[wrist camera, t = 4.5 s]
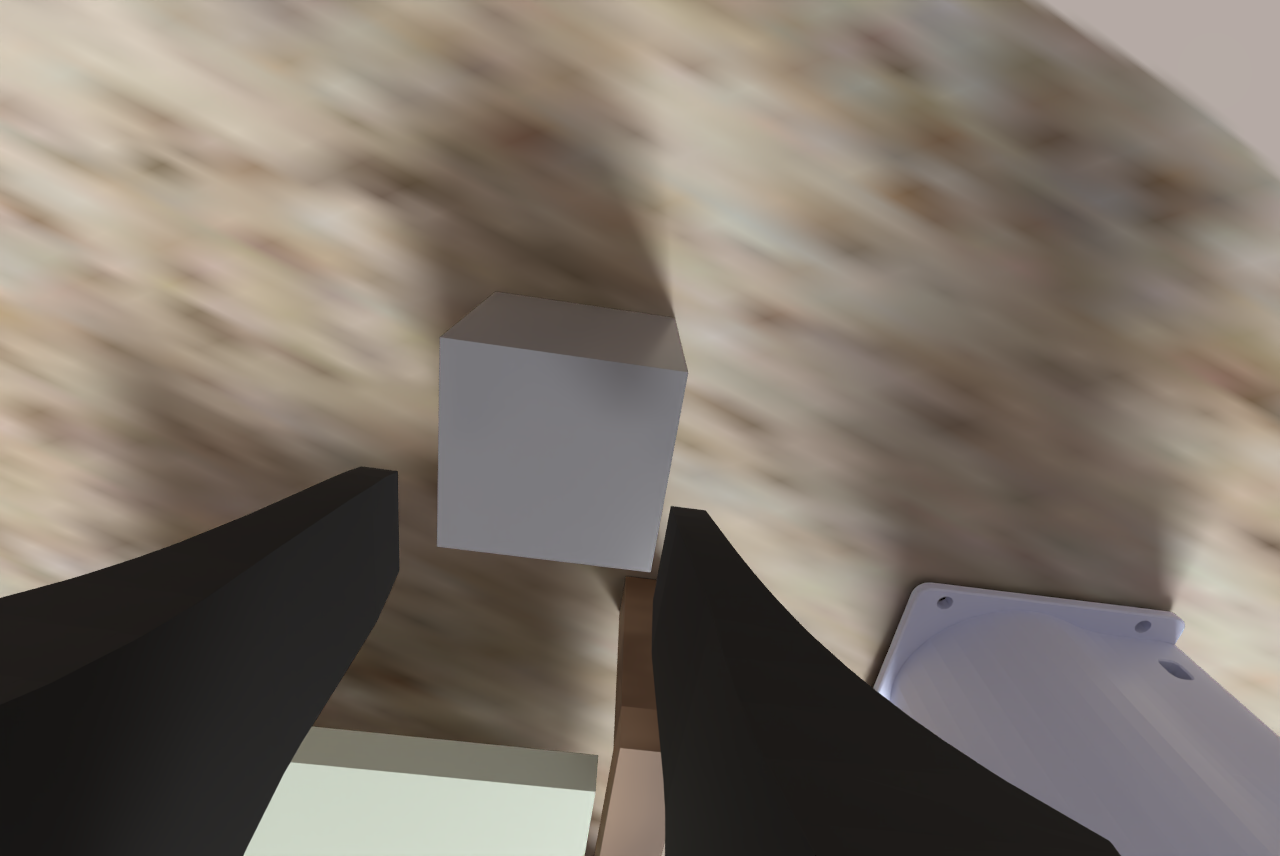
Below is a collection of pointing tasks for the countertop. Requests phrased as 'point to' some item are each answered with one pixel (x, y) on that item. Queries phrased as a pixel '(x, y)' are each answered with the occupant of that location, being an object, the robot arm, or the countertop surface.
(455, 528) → the stone
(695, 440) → the countertop surface
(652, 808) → the trapdoor frame
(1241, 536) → the countertop surface
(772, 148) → the countertop surface
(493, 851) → the trapdoor
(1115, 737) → the robot arm
